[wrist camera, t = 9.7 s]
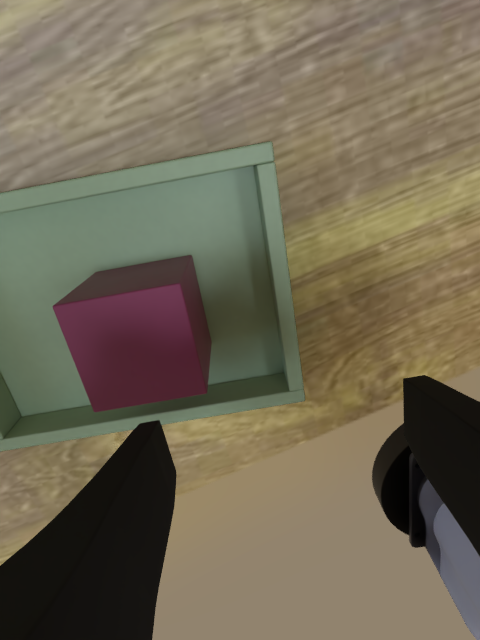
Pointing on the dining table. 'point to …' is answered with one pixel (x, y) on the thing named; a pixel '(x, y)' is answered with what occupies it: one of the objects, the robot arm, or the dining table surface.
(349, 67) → the dining table surface
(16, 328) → the tray
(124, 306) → the mulberry block
